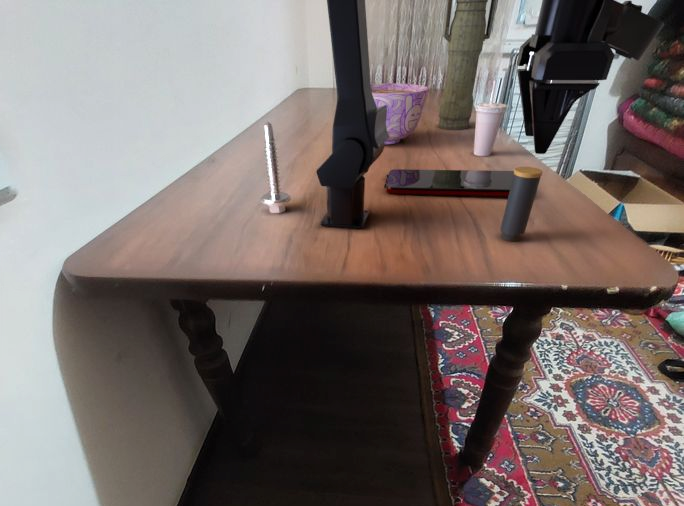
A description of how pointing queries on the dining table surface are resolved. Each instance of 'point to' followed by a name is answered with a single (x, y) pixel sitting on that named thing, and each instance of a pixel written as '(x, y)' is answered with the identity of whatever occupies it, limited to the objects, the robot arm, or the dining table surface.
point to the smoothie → (487, 125)
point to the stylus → (520, 202)
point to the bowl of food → (400, 107)
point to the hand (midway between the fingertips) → (534, 144)
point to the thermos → (463, 59)
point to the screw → (273, 175)
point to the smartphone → (449, 182)
